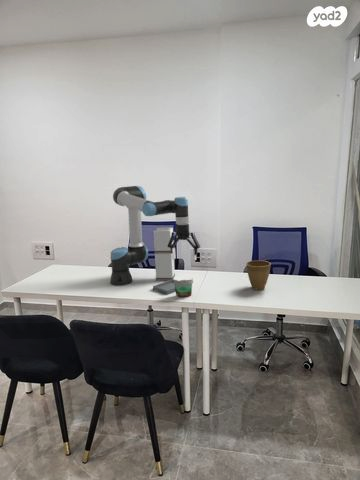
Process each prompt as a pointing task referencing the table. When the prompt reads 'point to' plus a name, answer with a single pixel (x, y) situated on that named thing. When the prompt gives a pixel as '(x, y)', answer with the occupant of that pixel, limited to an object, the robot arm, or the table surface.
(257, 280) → the plant pot
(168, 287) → the grey shallow tray
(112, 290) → the table surface
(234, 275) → the table surface
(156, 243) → the white tall box
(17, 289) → the table surface
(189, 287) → the food container
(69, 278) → the table surface
